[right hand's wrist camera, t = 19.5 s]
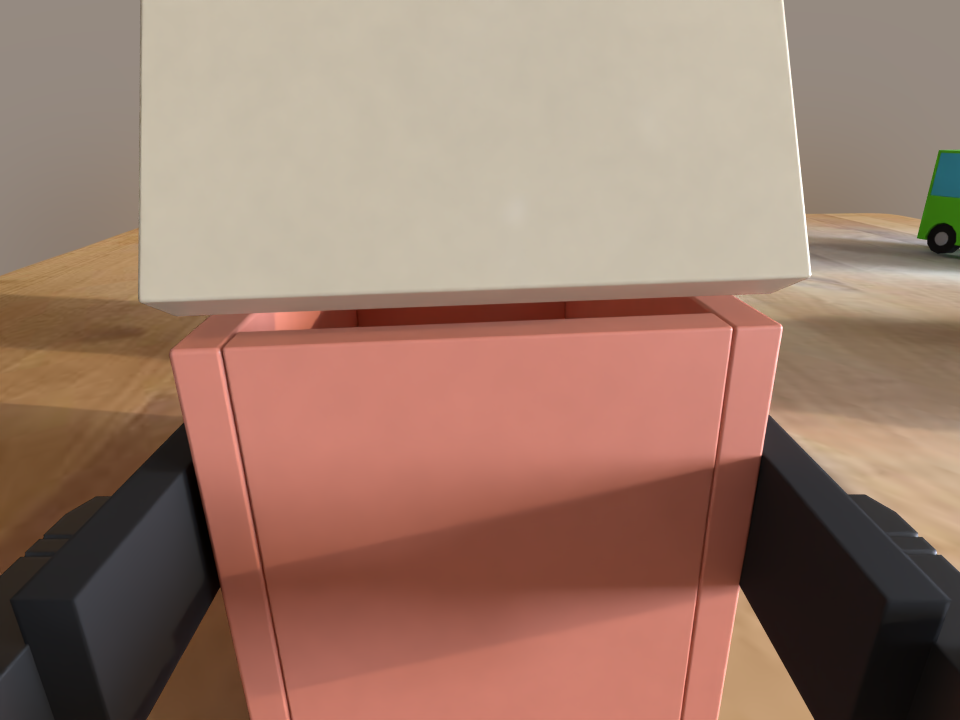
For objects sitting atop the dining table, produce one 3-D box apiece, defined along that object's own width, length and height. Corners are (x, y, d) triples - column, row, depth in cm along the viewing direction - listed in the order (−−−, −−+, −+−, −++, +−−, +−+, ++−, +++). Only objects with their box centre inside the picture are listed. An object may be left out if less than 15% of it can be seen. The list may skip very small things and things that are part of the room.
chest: (353, 452, 25) (327, 213, 22) (576, 441, 26) (586, 206, 22) (264, 796, 13) (164, 351, 9) (712, 762, 13) (786, 325, 9)
